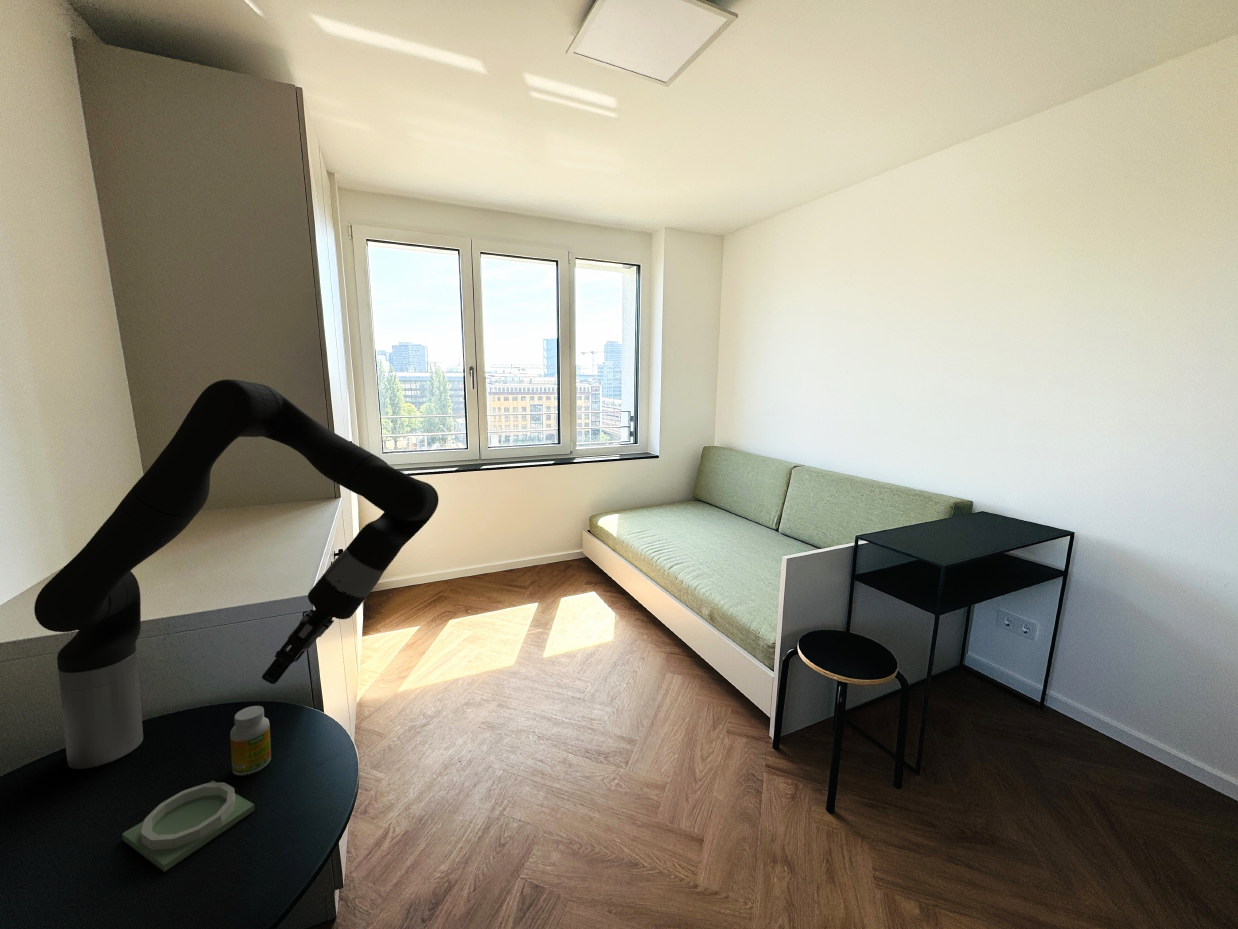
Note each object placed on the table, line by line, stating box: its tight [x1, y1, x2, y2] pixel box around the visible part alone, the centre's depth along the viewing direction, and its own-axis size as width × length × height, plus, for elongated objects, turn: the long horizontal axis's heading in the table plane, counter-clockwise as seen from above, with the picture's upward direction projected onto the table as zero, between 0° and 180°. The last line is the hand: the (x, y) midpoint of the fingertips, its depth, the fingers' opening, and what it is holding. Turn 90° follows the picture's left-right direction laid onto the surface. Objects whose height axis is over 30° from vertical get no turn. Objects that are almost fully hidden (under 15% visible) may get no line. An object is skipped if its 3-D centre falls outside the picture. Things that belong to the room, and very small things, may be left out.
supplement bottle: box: [229, 705, 272, 776], centre depth 83 cm, size 5×5×10 cm
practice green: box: [121, 780, 255, 873], centre depth 71 cm, size 11×11×2 cm
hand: (279, 669), depth 76 cm, fingers open, 8 cm apart
